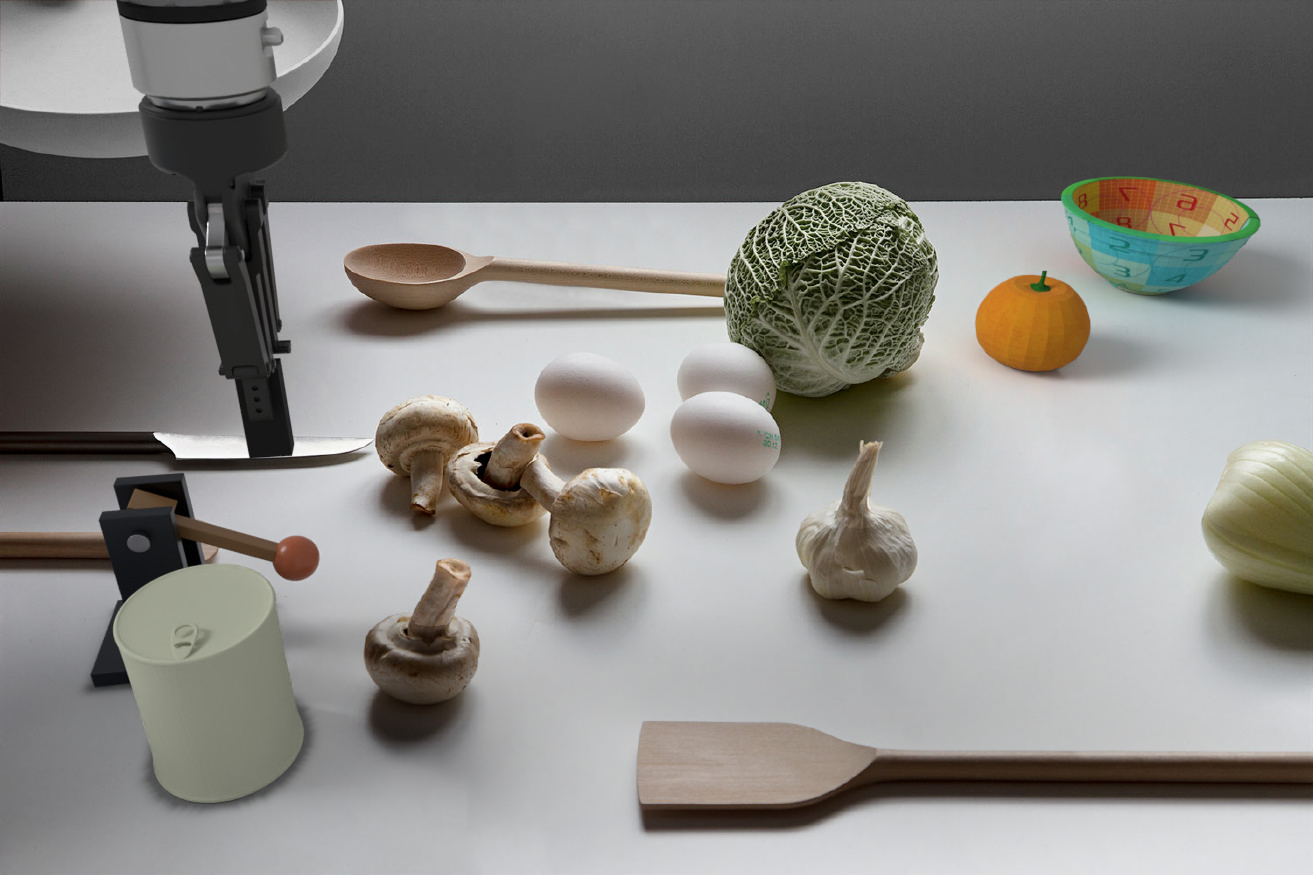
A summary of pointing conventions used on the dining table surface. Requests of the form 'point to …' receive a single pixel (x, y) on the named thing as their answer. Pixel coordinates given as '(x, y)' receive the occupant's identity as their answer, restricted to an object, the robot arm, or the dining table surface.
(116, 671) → the bracket
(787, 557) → the dining table surface
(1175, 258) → the bowl
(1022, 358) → the fruit
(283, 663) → the can
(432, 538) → the dining table surface
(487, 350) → the dining table surface
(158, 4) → the robot arm
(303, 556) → the lever
